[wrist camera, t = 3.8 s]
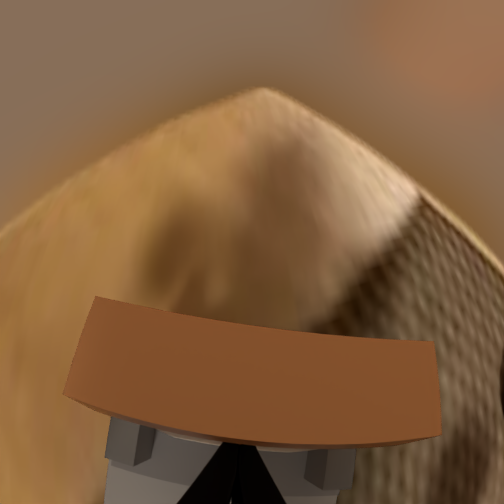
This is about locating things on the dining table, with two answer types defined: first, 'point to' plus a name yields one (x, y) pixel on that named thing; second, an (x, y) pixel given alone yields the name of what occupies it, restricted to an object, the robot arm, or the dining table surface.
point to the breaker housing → (195, 459)
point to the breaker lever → (253, 381)
